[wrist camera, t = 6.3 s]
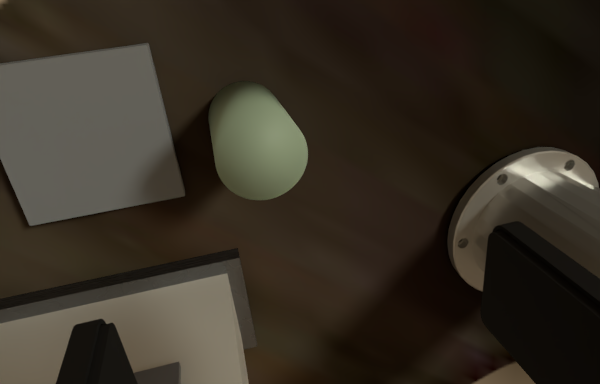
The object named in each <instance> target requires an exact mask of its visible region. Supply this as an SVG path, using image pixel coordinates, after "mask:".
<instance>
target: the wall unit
mask: <svg viewBox="0 0 600 384" xmlns="http://www.w3.org/2000/svg"><path fill="white" fill-rule="evenodd" d="M97 319H103V320H104V321H105V322H106V324H109V323H114V325H115V327H116V329H117V332H118V334H119V337H120V339H121V342H122V344H123V347H124V350H125V352H126V355H127V357H128V360H129V362H130V365H131V368H132V370H133V373H134V375H135V378H136V380H137V383H138V384H249V383H248V376H247V370H246V363H245V357H244V350H243V349H247V348H251V347H256V346H257V342H256V337H255V332H254V327H253V322H252V317H251V312H250V307H249V302H248V297H247V292H246V287H245V282H244V277H243V272H242V267H241V262H240V257H239V252H238V248H237V249H232V250H227V251H223V252H218V253H213V254H209V255H204V256H199V257H195V258H190V259H185V260H181V261H176V262H171V263H167V264H162V265H157V266H153V267H148V268H143V269H139V270H134V271H129V272H125V273H120V274H115V275H111V276H106V277H101V278H97V279H92V280H87V281H83V282H78V283H73V284H69V285H64V286H59V287H55V288H50V289H45V290H41V291H36V292H31V293H27V294H22V295H17V296H13V297H8V298H3V299H0V384H56V381H57V378H58V375H59V371H60V368H61V365H62V362H63V358H64V355H65V352H66V349H67V345H68V342H69V339H70V335H71V332H72V329H73V327H74V326H75V325H76V324H80V323H84V322H89V321H93V320H97Z"/></svg>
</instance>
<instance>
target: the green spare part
mask: <svg viewBox="0 0 600 384" xmlns="http://www.w3.org/2000/svg"><path fill="white" fill-rule="evenodd" d="M208 120H209V127H210V133H211V140H212V146H213V153H214V159H215V166H216V170H217V173H218V175H219V177H220V179H221V181H222V182H223V183H224V185H225V186H226V187H227V188H228V189H229V190H230V191H232V192H233V193H235V194H237V195H239V196H241V197H243V198H247V199H251V200H267V199H272V198H275V197H278V196H280V195H282V194H284V193H286V192H287V191H289V190H290V189H291V188H292V187H293V186H294V185H295V184H296V183H297V182H298V181H299V179H300V178H301V176H302V175H303V173H304V170H305V168H306V164H307V158H308V149H307V144H306V141H305V138H304V136H303V134H302V132H301V131H300V129H299V128H298V127H297V125H296V124H295V123H294V121H293V120H292V119H291V117H290V116H289V115H288V113H287V112H286V111H285V109H284V108H283V107H282V105H281V104H280V103H279V101H278V100H277V99H276V97H275V96H274V95H273V94H272V93H271V91H269V90H268V89H267V88H266V87H264V86H262V85H260V84H258V83H255V82H250V81H240V82H235V83H232V84H229V85H228V86H226V87H224V88H223V89H221V90H220V91H219V92H218V93H217V95H216V96H215V97H214V99H213V100H212V103H211V105H210V108H209V114H208Z"/></svg>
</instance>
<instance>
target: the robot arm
mask: <svg viewBox="0 0 600 384" xmlns="http://www.w3.org/2000/svg"><path fill="white" fill-rule="evenodd" d="M447 245H448V254H449V257H450V260H451V263H452V266H453V267H454V268H455V270H456V271H457V273H458V274H459V275H460V276H461V277H462V278H463V279H464V280H465V281H466V282H467V283H468V284H469V285H470V286H472V287H474V288H475V289H477V290H479V291H482V302H481V318H482V321H483V323H484V325H485V326H486V327H487V328H488V330H489V331H490V332H491V333H492V334H493V335H494V336H495V338H496V339H497V340H498V341H499V342H500V343H501V344H502V346H503V347H504V348H505V349H506V350H507V351H508V352H509V354H510V355H511V356H512V357H513V358H514V359H515V360H516V362H517V363H518V364H519V365H520V366H521V367H522V368H523V370H524V371H525V372H526V373H527V374H528V375H529V376H530V378H531V379H532V380H533V381H534V382H535V383H536V384H600V189H599V185H598V181H597V179H596V176H595V174H594V172H593V170H592V169H591V168H590V167H589V165H588V164H587V163H586V162H585V161H583V160H582V159H581V158H579V157H578V156H576V155H573V154H571V153H569V152H567V151H565V150H561V149H557V148H553V147H537V148H532V149H527V150H522V151H520V152H517V153H515V154H512V155H510V156H507V157H506V158H504V159H502V160H501V161H499V162H497V163H495V164H494V165H493V166H491V167H490V168H489V169H488V170H486V171H485V172H484V173H483V174H481V175H480V176H479V177H478V178H477V179H476V181H475V182H474V183H473V184H472V185H471V186H470V187H469V188H468V190H467V191H466V193H465V194H464V195H463V197H462V198H461V200H460V201H459V203H458V205H457V207H456V209H455V212H454V214H453V216H452V219H451V223H450V226H449V230H448V240H447ZM56 384H138V383H137V380H136V378H135V375H134V373H133V370H132V368H131V365H130V362H129V360H128V357H127V355H126V352H125V350H124V347H123V344H122V342H121V339H120V337H119V334H118V332H117V329H116V327H115V325H114V323H109V324H106V322H105V321H104V320H103V319H97V320H93V321H89V322H84V323H80V324H76V325H75V326H74V327H73V329H72V332H71V335H70V339H69V342H68V345H67V349H66V352H65V355H64V358H63V362H62V365H61V368H60V371H59V375H58V378H57V381H56Z"/></svg>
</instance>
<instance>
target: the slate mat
mask: <svg viewBox="0 0 600 384" xmlns="http://www.w3.org/2000/svg"><path fill="white" fill-rule="evenodd" d="M0 159H1V161H2V164H3V166H4V168H5V171H6V173H7V175H8V177H9V180H10V182H11V184H12V187H13V189H14V191H15V193H16V196H17V198H18V200H19V202H20V205H21V207H22V209H23V212H24V214H25V216H26V218H27V221H28V223H29V225H30V226H33V225H38V224H43V223H48V222H54V221H59V220H64V219H69V218H74V217H79V216H85V215H90V214H95V213H100V212H105V211H111V210H116V209H121V208H126V207H131V206H137V205H142V204H147V203H152V202H157V201H162V200H168V199H173V198H178V197H183V196H185V188H184V184H183V180H182V176H181V172H180V168H179V164H178V160H177V156H176V152H175V148H174V144H173V140H172V136H171V132H170V128H169V124H168V120H167V116H166V112H165V108H164V104H163V100H162V96H161V92H160V88H159V84H158V80H157V76H156V72H155V68H154V64H153V59H152V55H151V51H150V47H149V43H145V44H137V45H130V46H123V47H116V48H109V49H101V50H94V51H87V52H80V53H73V54H66V55H58V56H51V57H44V58H37V59H30V60H22V61H15V62H8V63H1V64H0Z"/></svg>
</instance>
